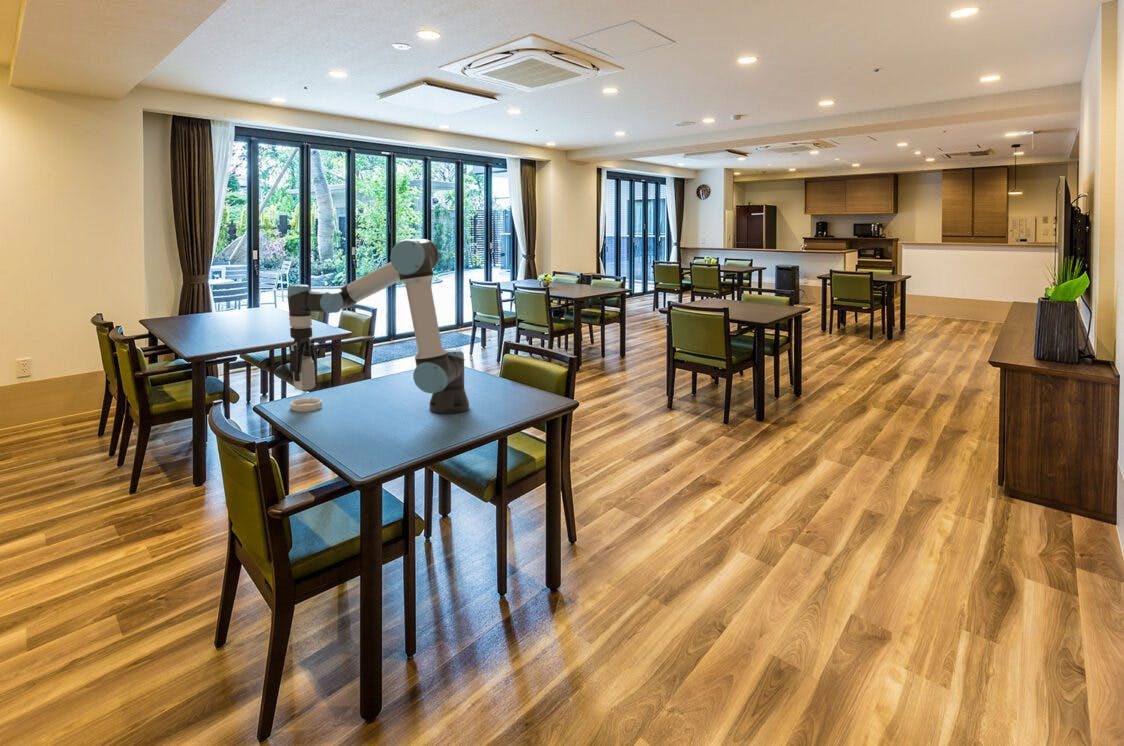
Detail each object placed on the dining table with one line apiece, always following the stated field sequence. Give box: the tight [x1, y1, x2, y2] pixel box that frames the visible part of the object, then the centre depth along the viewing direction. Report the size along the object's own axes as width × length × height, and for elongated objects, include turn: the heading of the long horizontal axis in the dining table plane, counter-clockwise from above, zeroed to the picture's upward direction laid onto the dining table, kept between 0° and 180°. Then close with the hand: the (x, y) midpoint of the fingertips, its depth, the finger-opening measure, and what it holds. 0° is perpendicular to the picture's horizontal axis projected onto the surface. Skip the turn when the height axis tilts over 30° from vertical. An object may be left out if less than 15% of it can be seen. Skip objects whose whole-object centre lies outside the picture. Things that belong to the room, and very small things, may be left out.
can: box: [292, 355, 316, 391], centre depth 232 cm, size 8×8×12 cm
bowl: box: [290, 397, 323, 413], centre depth 234 cm, size 11×11×2 cm
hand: (304, 386), depth 233 cm, fingers closed on can, 7 cm apart
